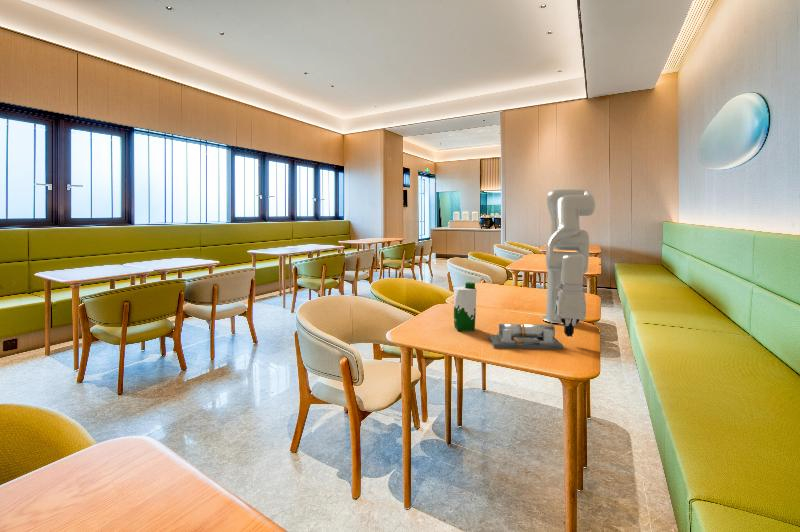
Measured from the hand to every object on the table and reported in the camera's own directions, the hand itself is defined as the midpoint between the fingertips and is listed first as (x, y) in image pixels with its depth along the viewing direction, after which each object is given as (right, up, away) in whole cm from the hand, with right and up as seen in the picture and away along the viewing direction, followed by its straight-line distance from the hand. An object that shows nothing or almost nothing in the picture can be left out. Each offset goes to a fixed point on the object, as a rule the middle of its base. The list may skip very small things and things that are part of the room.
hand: (568, 335), depth 154 cm
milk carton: (-36, -1, +22) cm, 42 cm away
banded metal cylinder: (-15, +2, +1) cm, 15 cm away
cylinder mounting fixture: (-16, -3, +1) cm, 17 cm away
